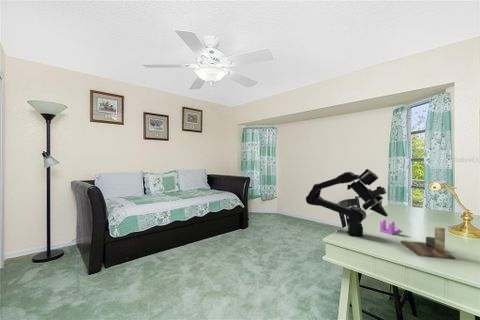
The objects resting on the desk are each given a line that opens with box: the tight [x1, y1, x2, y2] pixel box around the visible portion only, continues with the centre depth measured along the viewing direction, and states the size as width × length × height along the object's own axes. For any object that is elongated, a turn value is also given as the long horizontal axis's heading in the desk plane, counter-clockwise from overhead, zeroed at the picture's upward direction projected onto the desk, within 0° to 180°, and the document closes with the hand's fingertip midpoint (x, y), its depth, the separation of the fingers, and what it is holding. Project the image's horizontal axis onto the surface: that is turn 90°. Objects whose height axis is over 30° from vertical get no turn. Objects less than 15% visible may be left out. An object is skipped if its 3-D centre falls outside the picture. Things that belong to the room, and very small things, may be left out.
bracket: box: [379, 218, 401, 236], centre depth 122 cm, size 13×6×7 cm, turn 124°
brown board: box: [400, 240, 456, 260], centre depth 97 cm, size 13×15×1 cm
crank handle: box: [425, 226, 446, 253], centre depth 96 cm, size 10×4×10 cm, turn 161°
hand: (387, 216), depth 106 cm, fingers closed
